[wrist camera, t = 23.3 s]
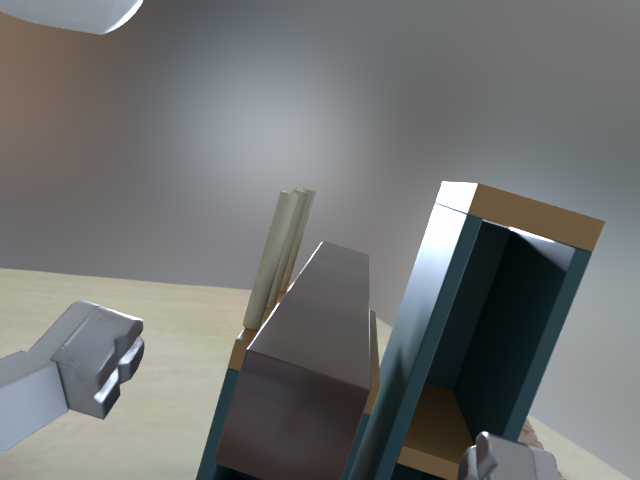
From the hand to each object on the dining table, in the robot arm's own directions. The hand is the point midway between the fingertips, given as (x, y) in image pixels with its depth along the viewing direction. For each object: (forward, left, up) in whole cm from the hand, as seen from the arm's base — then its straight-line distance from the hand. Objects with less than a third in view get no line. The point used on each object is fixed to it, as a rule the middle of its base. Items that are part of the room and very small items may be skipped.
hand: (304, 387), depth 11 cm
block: (+7, +10, -4) cm, 13 cm away
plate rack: (+13, +12, -20) cm, 26 cm away
